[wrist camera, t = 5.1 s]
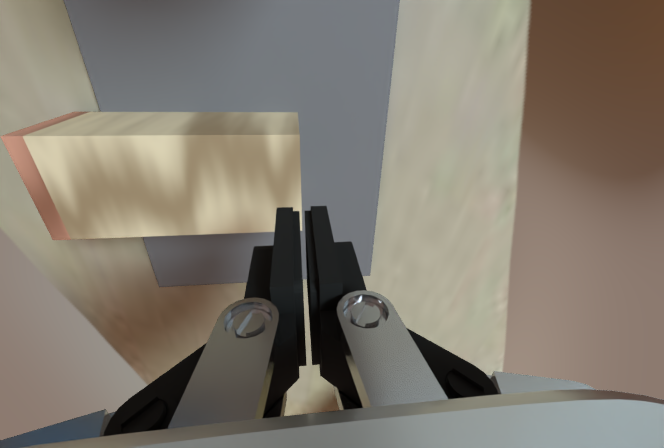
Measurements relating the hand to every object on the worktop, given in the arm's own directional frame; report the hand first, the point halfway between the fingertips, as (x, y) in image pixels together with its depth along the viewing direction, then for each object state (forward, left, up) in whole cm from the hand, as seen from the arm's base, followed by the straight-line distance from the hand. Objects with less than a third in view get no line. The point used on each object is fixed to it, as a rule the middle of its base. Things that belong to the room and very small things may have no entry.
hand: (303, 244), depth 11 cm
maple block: (0, 0, -8) cm, 8 cm away
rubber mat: (0, -3, -11) cm, 11 cm away
